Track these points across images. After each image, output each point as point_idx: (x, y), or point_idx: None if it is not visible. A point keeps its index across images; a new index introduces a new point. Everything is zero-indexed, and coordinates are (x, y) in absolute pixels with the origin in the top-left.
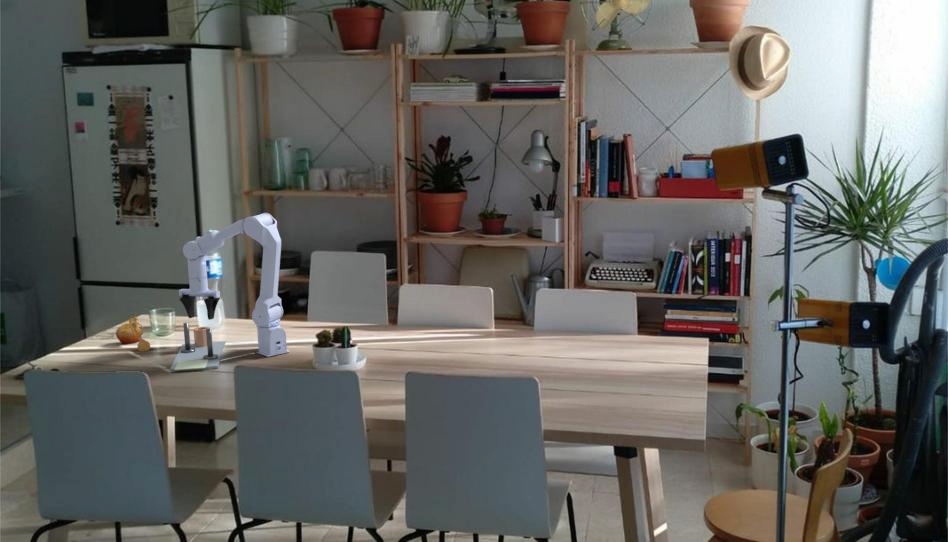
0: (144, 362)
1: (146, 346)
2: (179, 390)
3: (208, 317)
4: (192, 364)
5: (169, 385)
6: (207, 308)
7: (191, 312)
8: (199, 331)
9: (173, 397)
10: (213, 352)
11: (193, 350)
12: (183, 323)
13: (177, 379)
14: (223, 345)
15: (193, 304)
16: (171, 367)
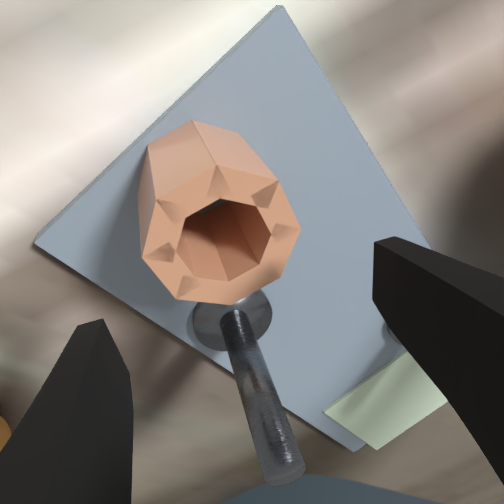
0: (162, 461)
1: None
2: (470, 474)
3: (392, 318)
4: (402, 398)
5: (426, 477)
6: (480, 425)
7: (114, 408)
8: (252, 286)
9: (480, 492)
10: None
11: (271, 310)
12: (271, 485)
13: (418, 453)
14: (345, 122)
15: (68, 481)
16: (346, 444)
